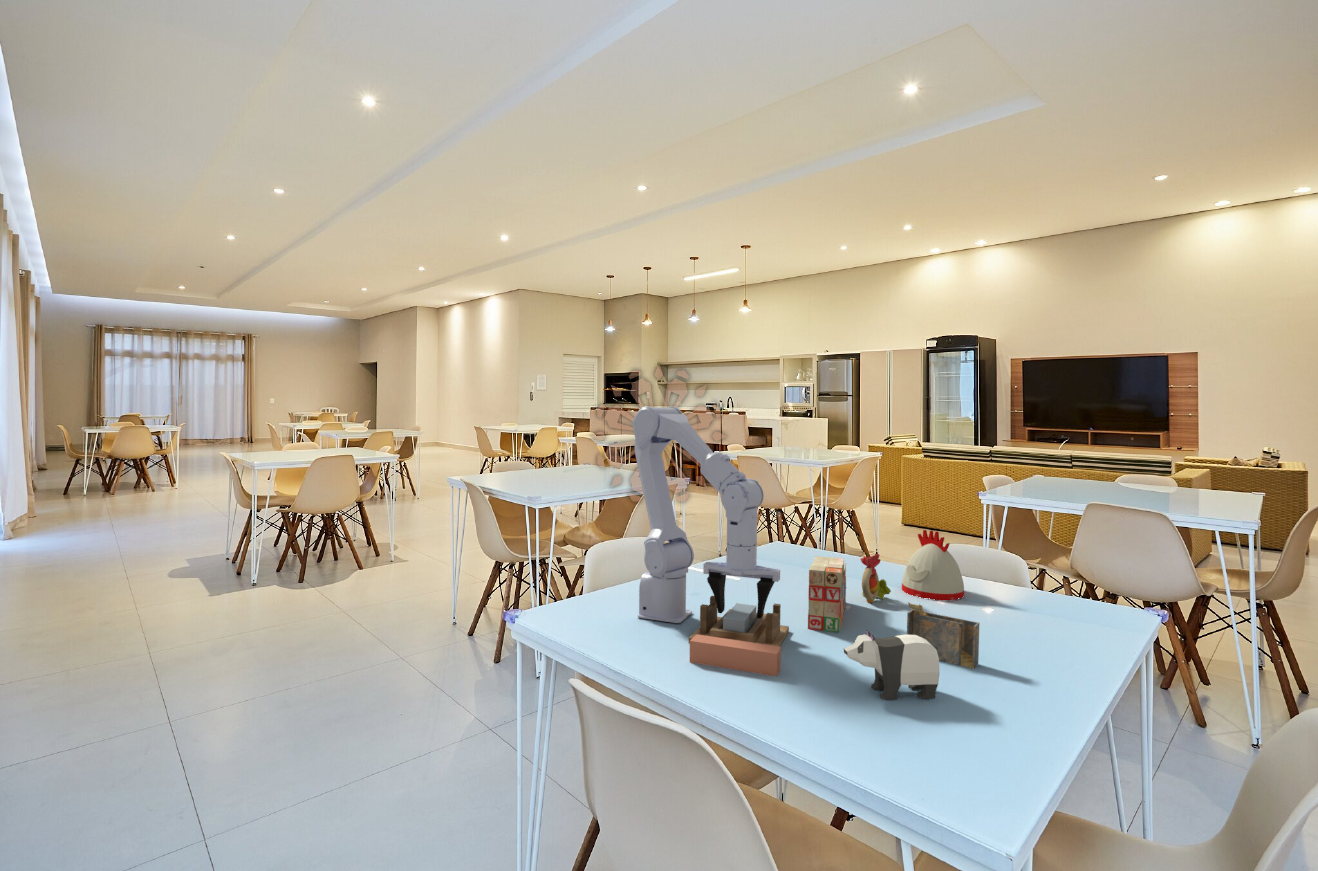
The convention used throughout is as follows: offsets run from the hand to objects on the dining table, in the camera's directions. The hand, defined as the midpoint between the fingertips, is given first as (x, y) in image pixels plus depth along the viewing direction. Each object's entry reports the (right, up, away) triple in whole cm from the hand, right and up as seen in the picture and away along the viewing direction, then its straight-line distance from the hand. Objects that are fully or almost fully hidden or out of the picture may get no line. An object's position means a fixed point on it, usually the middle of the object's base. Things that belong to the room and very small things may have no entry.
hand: (740, 614), depth 121 cm
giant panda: (+21, -6, -23) cm, 32 cm away
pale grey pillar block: (0, -3, 0) cm, 3 cm away
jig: (0, -4, 0) cm, 4 cm away
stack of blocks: (+21, -5, +14) cm, 25 cm away
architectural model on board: (+34, -6, -9) cm, 36 cm away
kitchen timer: (+51, -4, +33) cm, 60 cm away
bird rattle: (+34, -4, +25) cm, 42 cm away
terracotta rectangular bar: (-3, -5, -13) cm, 15 cm away
